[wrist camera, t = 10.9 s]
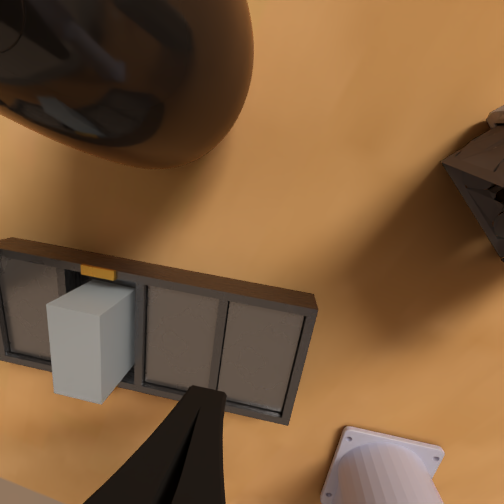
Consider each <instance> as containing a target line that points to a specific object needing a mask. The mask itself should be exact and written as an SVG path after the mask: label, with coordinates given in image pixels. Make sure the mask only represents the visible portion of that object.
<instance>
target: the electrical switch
mask: <svg viewBox="0 0 504 504" xmlns="http://www.w3.org/2000/svg"><path fill="white" fill-rule="evenodd" d="M486 120H487V122H488V124H489V126H490V127H491V130H489V131H487V132H485V133H484V134H482V135H480V136H479V137H477V138H475V139H473V140H472V141H471V142H470V143H468V144H467V145H466V146H465V147H463V148H462V149H460V150H459V151H457V152H455V153H454V154H452V155H450V156H449V157H447V158H445V159H443V160H442V161H440V162H442V164H443V166H444V167H445V169H446V171H447V172H448V174H449V176H450V177H451V179H452V180H453V182H454V184H455V185H456V187H457V188H458V190H459V192H460V193H461V195H462V196H463V198H464V200H465V201H466V203H467V205H468V206H469V208H470V209H471V211H472V213H473V214H474V216H475V217H476V219H477V221H478V222H479V224H480V226H481V227H482V229H483V230H484V232H485V234H486V235H487V237H488V238H489V240H490V242H491V243H492V245H493V247H494V248H495V250H496V251H497V253H498V255H499V256H500V257H504V213H502V214H500V212H504V202H502V203H499V202H498V201H496V198H495V196H496V193H497V192H498V191H500V190H502V189H503V188H504V105H503V106H501V107H499V108H497V109H496V110H494V111H492V112H491V113H489V115H488V117H487V119H486ZM494 184H496V186H495V187H493V188H490V187H491V186H493V185H494ZM465 185H466V186H467V187H468V188H466V187H465ZM488 188H490V189H488ZM486 189H488V190H486ZM499 214H500V215H499ZM493 221H494V224H493V225H492V222H493ZM496 235H497V236H496ZM501 260H502V261H503V262H504V258H502V259H501Z"/></svg>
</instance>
